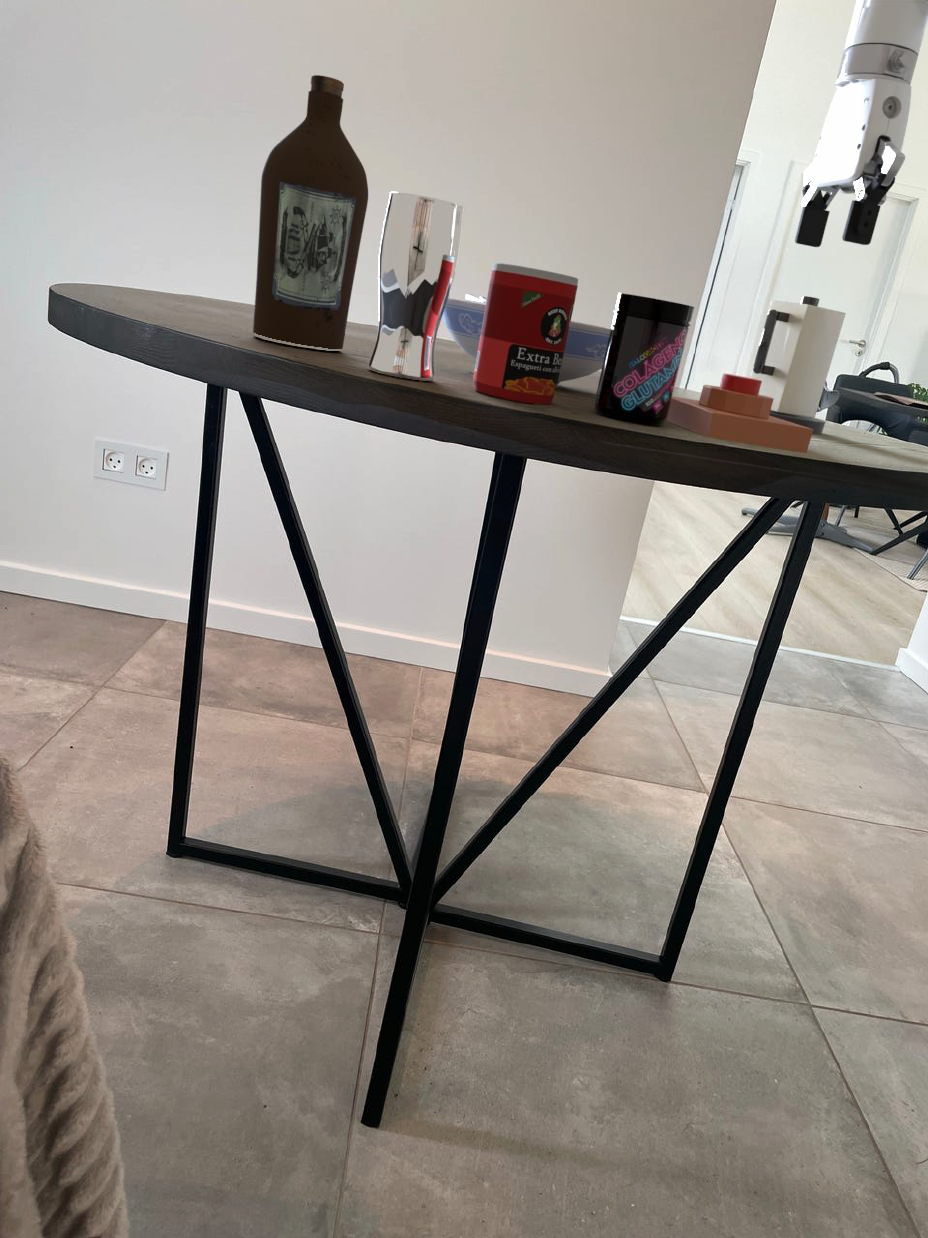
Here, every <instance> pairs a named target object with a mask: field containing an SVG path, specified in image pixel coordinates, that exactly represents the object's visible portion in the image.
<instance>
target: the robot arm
mask: <svg viewBox="0 0 928 1238" xmlns="http://www.w3.org/2000/svg"><path fill="white" fill-rule="evenodd" d="M927 25H928V0H856V2H855V6H854V9H853V13H852V18H851V22H850V25H849V29H848V33H847V37H846V42H845V44H844V45H845V46H844V50H843V54H842V57H841V62H840V65H839V69H838V74H837V77H836V81H835V85H834V88H835V89H836V91H835V93H834V95H833V99H832V101H831V103H830V106H829V109H828V113H827V115H826V117H825V121H824V124H823V127H822V131H821V134H820V137H819V140H818V144H817V147H816V150H815V155H814V158H813V162H812V163H811V164H810V165H809V166H808V167H807V168H806V169H805V170H804V173H803V188H802V196H803V198H802V200H801V207H802V210H801V214H800V217H799V222H798V226H797V229H796V234H795V239H794V242H795V244H798V245H801V246H808V247H811V248H812V247H813V248H820V247H821V245H822V243H823V238H824V234H825V231H826V227H827V224H828V219H829V216H830V210H827V209H828V207H829V206H830V204H831V202H832V201H833V200H834V198H835V197H836V195H838V194H837V193H838V192H839V191H840V192H841V193H842V194H845V195H847V194H849V195H850V194H856V199H857V200H855V199H852V200H851V203H850V206H849V210H848V215H847V218H846V222H845V226H844V229H843V233H842V237H841V239H842V241H843V242H848V243H852V244H857V245H861V246H868V245H870V244H871V242H872V240H873V236H874V232H875V228H876V225H877V221H878V217H879V214H880V210H881V206H882V205H884V203H885V202H886V201H887V194H888V192H889V191H890V190H891V188H892V187H893V185H894V184H895V183H896V177H897V175H898V173H899V171H900V170H901V168H902V166H903V164H904V162H905V161H906V155H905V154H904V153H903V152H902V149H903V147H904V146H903V145H904V141H905V137H906V131H907V128H908V127H907V126H908V120H909V115H910V109H911V108H910V107H911V98H912V86H911V84H912V80H913V78H914V77H913V76H914V74H915V73H914V72H915V69H916V65H917V62H918V59H919V58H918V57H919V53H920V50H921V47H922V46H921V45H922V43H923V39H924V36H925V32H926V28H927ZM823 192H825V193H824V195H823Z"/></svg>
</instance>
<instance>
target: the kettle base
mask: <svg viewBox="0 0 928 1238" xmlns="http://www.w3.org/2000/svg"><path fill="white" fill-rule="evenodd" d="M769 416H772V417H775V418H779V419H782V420H785V421H788V422H792V423H795V424H798V425H801V426H804V427H808V428H811V429H813V433H812V435H817V436H821V435H822V434H823V432H824V428H825V425H826V421H825V420H822V419H819V418H816V417H814V418H813V417H806V416H799V415H793V414H786V413H780V412H775V411H771V410H770V414H769Z"/></svg>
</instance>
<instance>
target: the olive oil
mask: <svg viewBox="0 0 928 1238" xmlns="http://www.w3.org/2000/svg"><path fill="white" fill-rule="evenodd" d="M344 87H345V84H344V83H343V81H342V80H339V79H337V78H334V77H330V76H325V75H319V74H315V75H312V76H311V77H310V90H309V91H307V92H308V93H307V102H306V115H305V117H304V119H303V121H302V122H301V123H300V124H298V126H297V127H295V128H294V129H293V130H292V131H291V132H289V133H288V134H287V135H286V136H285V137H284V138H283V139H281V140H280V141H279V142H278V143H277V144H276V145H275V146H274V147H273V148H272V149H271V150H270V152H269V154H268V156H267V158H266V160H265V163H264V167H263V169H262V172H261V179H260V180H261V181H260V199H259V220H258V221H259V224H258V242H257V243H258V244H257V261H256V262H257V263H256V279H255V281H256V282H255V293H254V294H255V295H254V309H253V310H254V311H253V323H252V333H253V332H254V333H256V334H258V335H262V336H265V337H268V338H272V339H276V340H281V341H286V342H291V343H295V344H301V345H307V346H314V347H322V348H328V349H342V350H343V348H344V342H345V335H346V329H347V324H348V316H349V311H350V305H351V304H350V303H351V298H352V292H353V284H354V280H355V274H356V269H357V264H358V258H359V253H360V247H361V241H362V236H363V230H364V225H365V219H366V213H367V209H368V202H369V185H368V177H367V173H366V169H365V167H364V165H363V164H362V163H363V162H361V160H360V158H359V156H358V155H357V153H356V151H355V150H354V148H353V147H352V145H351V143H350V141H349V140H348V138H347V136H346V135H345V132H344V130H343V129H342V126H341V118H342V112H343V107H344V106H343V104H344V98H343V92H344Z"/></svg>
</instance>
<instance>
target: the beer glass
mask: <svg viewBox="0 0 928 1238" xmlns="http://www.w3.org/2000/svg"><path fill="white" fill-rule="evenodd" d="M389 193H390V194H389V199H388V204H387V208H386V214H385V217H384V218H385V219H384V221H383V227H382V234H381V239H380V247H379V253H378V314H379V315H378V329H377V335H376V340H375V344H374V347H373V350H372V354H371V357H370V359H369V363H368V368H369V369H371V370H374V371H376V372H380V373H383V374H386V375H391V376H396V377H401V378H407V379H413V380H412V381H414V380H419V381H418V382H423V381H429V382H430V381H432V382H434V380H435V347H436V340H437V336H438V332H439V327H440V326H441V325H440V324H441V322H442V319H443V316H442V315H443V312H444V310H445V307H446V304H447V301H448V298H450V294H451V291H452V288H453V284H454V281H455V277H456V273H457V269H458V264H459V259H460V252H461V245H462V244H461V243H462V234H463V222H464V211H465V207H464V206H463V205H461V204H458V203H455V202H452V201H449V200H444V199H440V198H436V197H431V196H426V195H420V194H414V193H409V192H408V193H407V192H400V191H399V192H398V191H391V192H389ZM369 369H368V370H369ZM386 375H385V376H386ZM391 376H390V377H391ZM396 377H395V378H396ZM401 378H400V379H401ZM407 379H406V380H407ZM429 382H428V383H429Z"/></svg>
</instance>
